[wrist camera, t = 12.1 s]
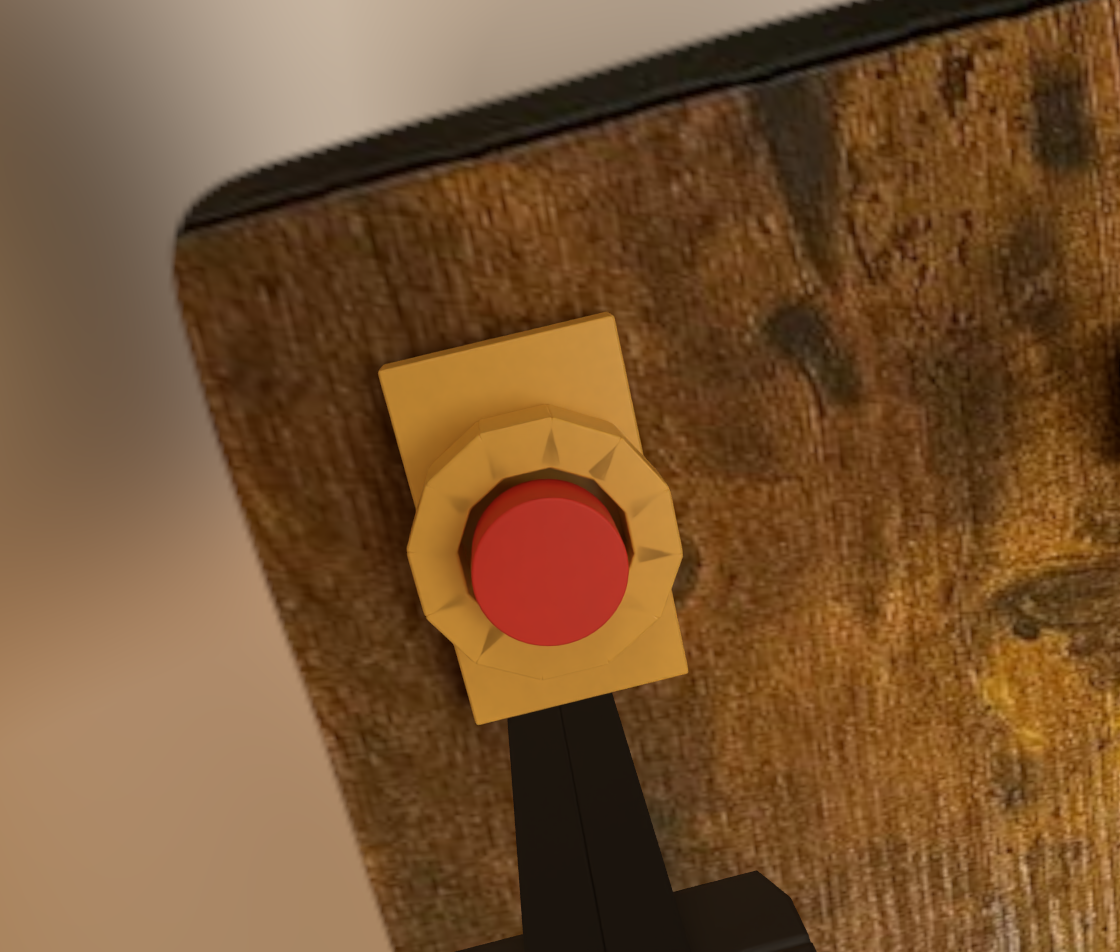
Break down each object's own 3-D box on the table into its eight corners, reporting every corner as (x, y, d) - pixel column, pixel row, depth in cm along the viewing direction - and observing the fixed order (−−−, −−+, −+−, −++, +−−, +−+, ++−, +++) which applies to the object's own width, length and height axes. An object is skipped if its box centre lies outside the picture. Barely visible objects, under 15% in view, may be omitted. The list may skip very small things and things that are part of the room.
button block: (372, 366, 24) (357, 385, 22) (617, 308, 25) (635, 318, 22) (467, 708, 27) (466, 764, 24) (689, 653, 27) (713, 703, 24)
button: (455, 497, 23) (453, 518, 21) (601, 462, 23) (611, 480, 21) (491, 632, 24) (492, 663, 22) (631, 598, 24) (643, 626, 22)
